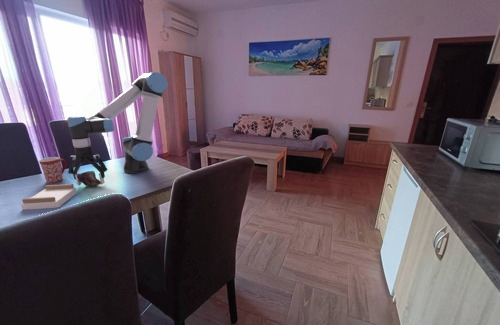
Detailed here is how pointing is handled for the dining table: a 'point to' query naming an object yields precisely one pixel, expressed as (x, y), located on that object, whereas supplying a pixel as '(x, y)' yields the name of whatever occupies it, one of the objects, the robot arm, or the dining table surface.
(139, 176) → the dining table surface
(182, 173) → the dining table surface
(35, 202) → the display stand
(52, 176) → the mug
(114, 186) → the dining table surface
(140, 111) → the robot arm
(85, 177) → the rock
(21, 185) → the dining table surface
